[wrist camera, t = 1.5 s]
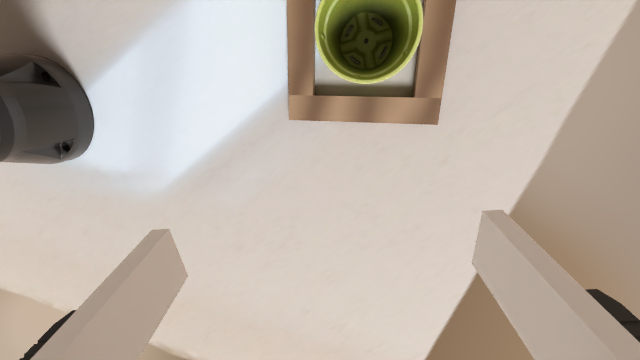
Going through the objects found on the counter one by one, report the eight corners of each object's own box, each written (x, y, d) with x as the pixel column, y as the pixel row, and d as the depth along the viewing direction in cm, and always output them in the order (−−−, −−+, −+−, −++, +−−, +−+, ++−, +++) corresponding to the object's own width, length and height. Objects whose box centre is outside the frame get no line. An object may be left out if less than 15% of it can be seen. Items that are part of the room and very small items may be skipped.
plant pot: (378, 99, 34) (384, 102, 26) (312, 61, 34) (296, 52, 26) (424, 22, 31) (446, -1, 23) (351, -21, 31) (347, -60, 23)
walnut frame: (291, 118, 36) (289, 119, 35) (289, -47, 31) (285, -54, 29) (434, 123, 34) (437, 124, 33) (460, -55, 28) (465, -62, 27)
